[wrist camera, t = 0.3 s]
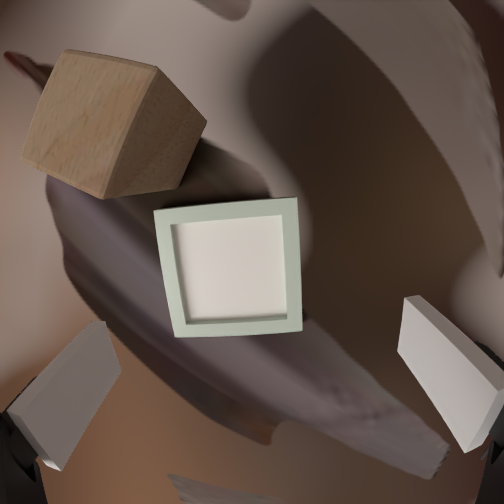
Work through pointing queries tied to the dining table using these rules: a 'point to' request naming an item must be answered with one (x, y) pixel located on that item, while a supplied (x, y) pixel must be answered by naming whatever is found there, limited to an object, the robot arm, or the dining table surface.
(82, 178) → the wooden block
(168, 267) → the square tray
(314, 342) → the dining table surface
